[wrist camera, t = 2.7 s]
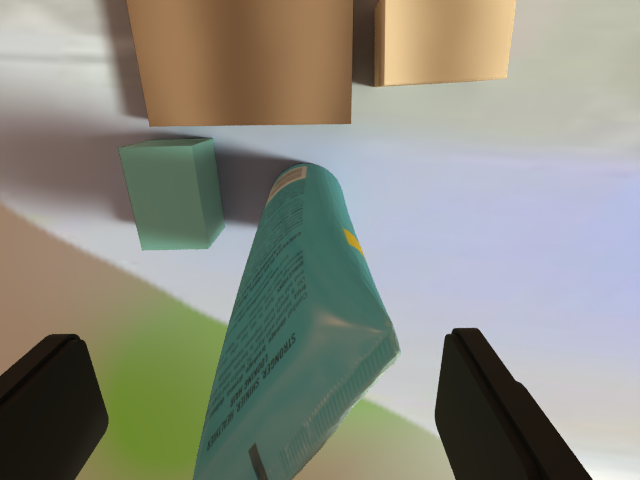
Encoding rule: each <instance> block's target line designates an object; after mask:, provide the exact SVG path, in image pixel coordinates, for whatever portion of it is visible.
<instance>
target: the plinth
mask: <svg viewBox="0 0 640 480" xmlns="http://www.w3.org/2000/svg"><path fill="white" fill-rule="evenodd" d="M126 2H127V7H128V13H129V18H130V23H131V29H132V34H133V40H134V45H135V50H136V56H137V61H138V66H139V72H140V77H141V83H142V88H143V93H144V99H145V104H146V110H147V115H148V120H149V126H150V127H153V126H226V125H299V124H351V95H352V40H353V0H126Z"/></svg>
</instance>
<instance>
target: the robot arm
mask: <svg viewBox="0 0 640 480" xmlns="http://www.w3.org/2000/svg"><path fill="white" fill-rule="evenodd" d="M435 422H436V426H437V430H438V432H439V435H440V438H441V440H442V443H443V446H444V448H445V451H446V454H447V457H448V459H449V462H450V465H451V468H452V470H453V473H454V476H455V479H456V480H593V479H592V478H591V477H590V475H589V474H588V473H587V471H586V470H585V468H584V467H583V466H582V464H581V463H580V462H579V460H578V459H577V457H576V456H575V455H574V453H573V452H572V451H571V449H570V448H569V447H568V445H567V444H566V442H565V441H564V440H563V438H562V437H561V436H560V434H559V433H558V431H557V430H556V429H555V427H554V426H553V425H552V423H551V422H550V421H549V419H548V418H547V416H546V415H545V414H544V412H543V411H542V410H541V408H540V407H539V405H538V404H537V403H536V401H535V400H534V399H533V397H532V396H531V395H530V393H529V392H528V390H527V389H526V388H525V387H524V386H523V385H522V384H521V383H519V382H517V381H515V379H514V378H513V376H512V375H511V374H510V372H509V371H508V369H507V368H506V367H505V365H504V364H503V362H502V361H501V360H500V358H499V357H498V355H497V354H496V353H495V351H494V350H493V348H492V347H491V346H490V344H489V343H488V341H487V340H486V339H485V337H484V336H483V334H482V333H481V332H480V330H479V329H477V328H455V329H453V331H452V333H451V334H447V335H446V336H445V340H444V348H443V355H442V363H441V370H440V377H439V385H438V392H437V399H436V407H435ZM107 427H108V414H107V411H106V408H105V405H104V401H103V398H102V395H101V391H100V388H99V385H98V381H97V378H96V375H95V372H94V368H93V365H92V362H91V358H90V355H89V352H88V349H87V345H86V343H85V341H83V340H81V339H80V338H79V336H78V335H76V334H52V335H49V336H47V337H45V338H44V339H43V340H42V341H40V342H39V343H38V344H37V345H36V346H35V347H34V348H32V349H31V350H30V351H29V352H28V353H27V354H25V355H24V356H23V357H22V358H21V359H19V360H18V361H17V362H16V363H15V364H14V365H12V366H11V367H10V368H9V369H8V370H7V371H5V372H4V373H3V374H2V375H1V376H0V480H75V478H76V476H77V475H78V474H79V472H80V471H81V469H82V468H83V466H84V464H85V463H86V461H87V460H88V458H89V457H90V455H91V454H92V452H93V451H94V449H95V447H96V446H97V444H98V443H99V441H100V439H101V438H102V437H103V435H104V434H105V431H106V429H107Z"/></svg>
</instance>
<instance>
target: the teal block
mask: <svg viewBox="0 0 640 480" xmlns="http://www.w3.org/2000/svg"><path fill="white" fill-rule="evenodd" d="M118 150H119V155H120V159H121V163H122V167H123V172H124V176H125V180H126V184H127V188H128V193H129V197H130V201H131V205H132V210H133V214H134V218H135V222H136V226H137V231H138V235H139V239H140V243H141V248H142V250H179V249H208V248H209V247H210V246H211V245H212V243H213V242H214V241H215V239H216V238H217V237H218V235H219V234H220V233H221V232H222V230H223V229H224V228H225V223H224V215H223V208H222V201H221V194H220V187H219V179H218V172H217V165H216V158H215V150H214V143H213V138H202V139H168V140H149V141H145V142H140V143H136V144H132V145H128V146H124V147H120V148H118Z"/></svg>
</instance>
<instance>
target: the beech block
mask: <svg viewBox="0 0 640 480" xmlns="http://www.w3.org/2000/svg"><path fill="white" fill-rule="evenodd" d="M515 8H516V0H380V1H379V3H378V5H377V6H376V8H375V87H385V86H402V85H419V84H436V83H452V82H469V81H482V80H492V79H503V78H506V77H507V69H508V61H509V54H510V46H511V39H512V31H513V23H514V16H515Z"/></svg>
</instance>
